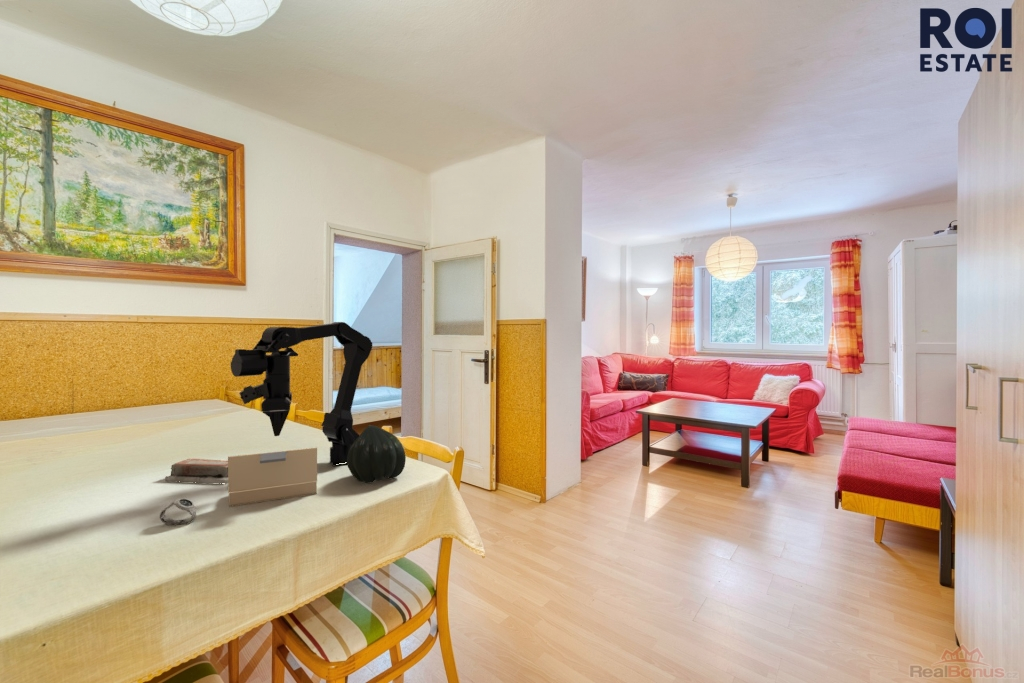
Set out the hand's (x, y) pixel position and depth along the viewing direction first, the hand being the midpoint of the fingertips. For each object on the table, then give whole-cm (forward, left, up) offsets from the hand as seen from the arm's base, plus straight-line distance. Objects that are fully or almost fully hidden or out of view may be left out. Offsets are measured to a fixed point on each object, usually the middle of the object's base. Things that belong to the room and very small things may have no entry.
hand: (277, 432), depth 112 cm
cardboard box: (0, +10, -13) cm, 17 cm away
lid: (0, +15, -6) cm, 16 cm away
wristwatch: (+17, +20, -13) cm, 29 cm away
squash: (-24, +9, -13) cm, 29 cm away
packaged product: (+17, -12, -14) cm, 25 cm away
